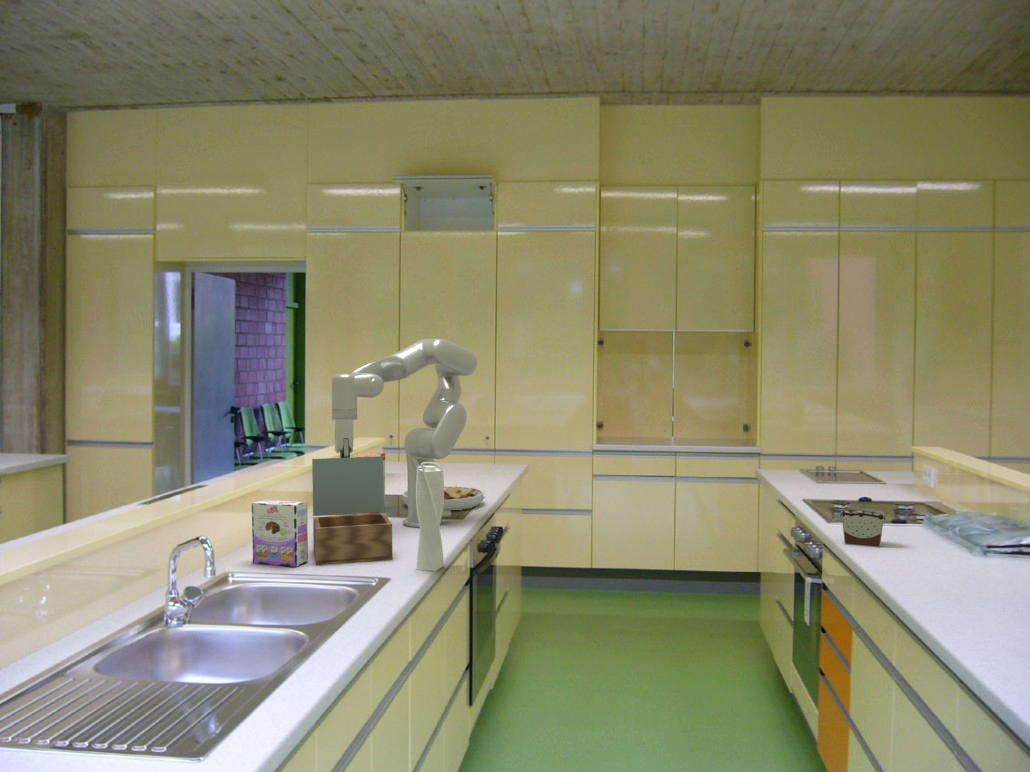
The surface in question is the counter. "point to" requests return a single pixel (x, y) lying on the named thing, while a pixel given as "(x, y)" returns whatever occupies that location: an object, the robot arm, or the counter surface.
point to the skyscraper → (429, 516)
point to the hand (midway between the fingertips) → (345, 475)
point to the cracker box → (383, 472)
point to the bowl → (457, 497)
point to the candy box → (280, 532)
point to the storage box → (352, 538)
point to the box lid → (347, 485)
